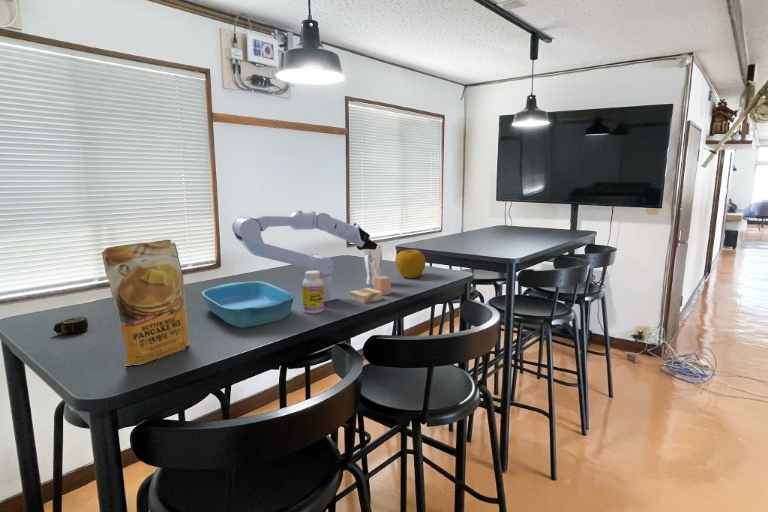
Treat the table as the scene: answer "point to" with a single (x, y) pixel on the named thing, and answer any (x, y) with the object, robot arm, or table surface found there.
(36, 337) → the table surface
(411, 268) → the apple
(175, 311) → the pancake mix bag
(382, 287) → the clay block
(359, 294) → the oak base
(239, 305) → the casserole dish
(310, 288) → the supplement bottle
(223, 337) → the table surface
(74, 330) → the tape measure
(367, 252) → the beer glass
